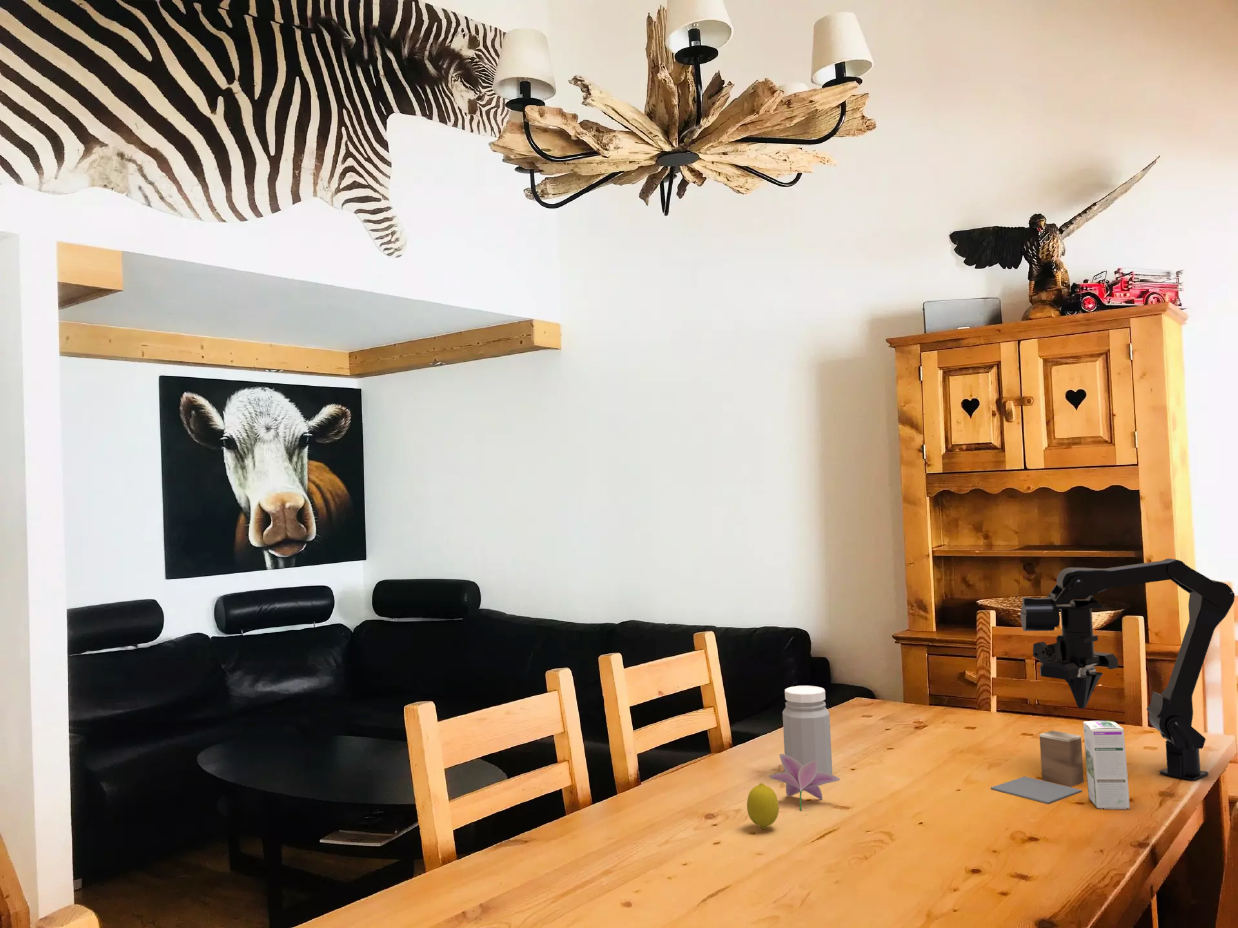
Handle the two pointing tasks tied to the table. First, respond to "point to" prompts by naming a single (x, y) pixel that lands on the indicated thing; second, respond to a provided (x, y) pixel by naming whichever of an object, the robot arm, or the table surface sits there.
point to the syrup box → (1106, 765)
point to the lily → (802, 777)
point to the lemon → (762, 805)
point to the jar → (807, 727)
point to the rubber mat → (1036, 789)
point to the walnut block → (1061, 758)
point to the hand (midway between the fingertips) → (1081, 707)
